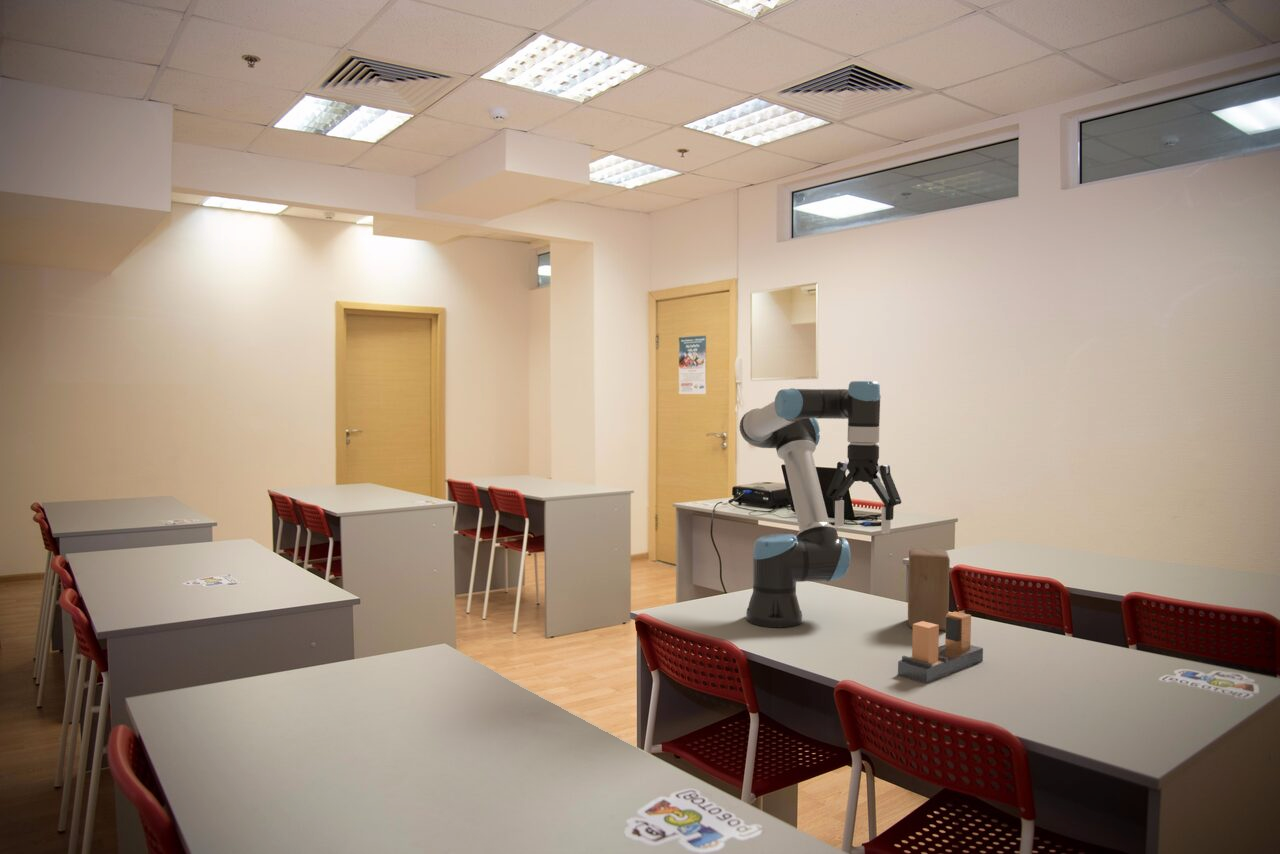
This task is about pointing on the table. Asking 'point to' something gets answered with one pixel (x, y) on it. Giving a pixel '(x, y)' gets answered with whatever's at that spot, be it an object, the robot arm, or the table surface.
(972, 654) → the rail
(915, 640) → the tall peach prism
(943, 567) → the wooden block
